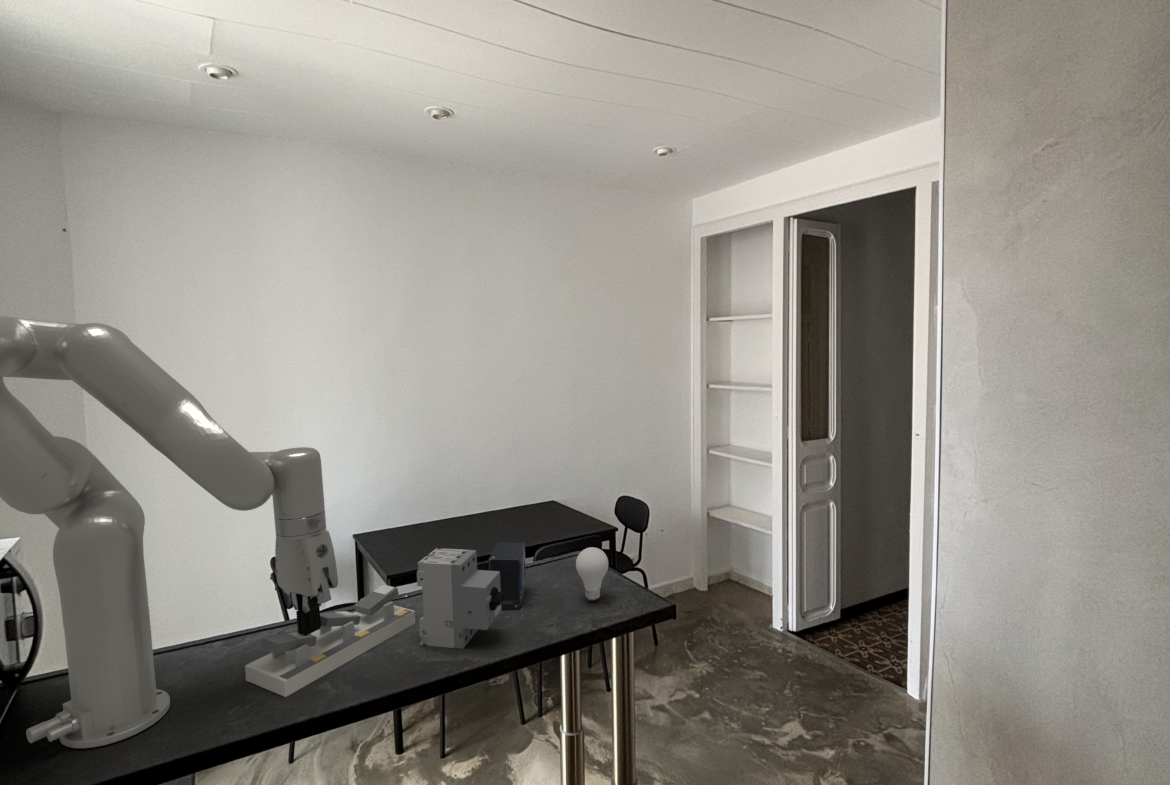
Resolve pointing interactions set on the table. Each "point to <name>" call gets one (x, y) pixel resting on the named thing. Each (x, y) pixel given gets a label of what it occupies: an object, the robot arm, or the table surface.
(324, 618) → the rocker
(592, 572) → the light bulb
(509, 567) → the small box
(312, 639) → the rocker
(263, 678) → the switch unit
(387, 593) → the rocker
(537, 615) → the table surface
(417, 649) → the table surface
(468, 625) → the circuit breaker
